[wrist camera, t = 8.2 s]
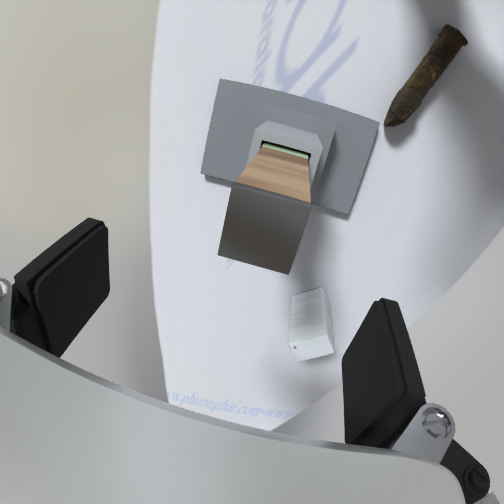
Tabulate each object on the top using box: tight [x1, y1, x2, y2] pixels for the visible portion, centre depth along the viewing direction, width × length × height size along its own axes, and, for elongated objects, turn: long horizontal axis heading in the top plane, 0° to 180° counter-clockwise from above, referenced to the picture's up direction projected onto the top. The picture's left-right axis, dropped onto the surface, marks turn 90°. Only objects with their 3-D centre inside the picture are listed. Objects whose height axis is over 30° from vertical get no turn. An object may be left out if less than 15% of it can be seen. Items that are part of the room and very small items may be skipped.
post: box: [218, 141, 311, 275], centre depth 24 cm, size 4×4×17 cm
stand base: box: [200, 79, 379, 214], centre depth 35 cm, size 14×22×16 cm, turn 77°
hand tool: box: [384, 24, 468, 126], centre depth 32 cm, size 19×4×5 cm, turn 144°
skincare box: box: [288, 287, 335, 362], centre depth 49 cm, size 6×4×12 cm
